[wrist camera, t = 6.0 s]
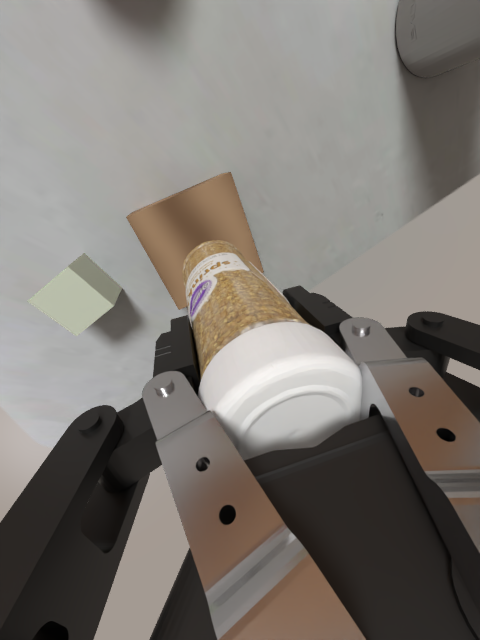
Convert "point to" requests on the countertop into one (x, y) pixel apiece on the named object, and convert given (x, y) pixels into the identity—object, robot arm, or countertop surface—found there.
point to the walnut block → (192, 228)
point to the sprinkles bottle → (263, 358)
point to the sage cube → (77, 295)
